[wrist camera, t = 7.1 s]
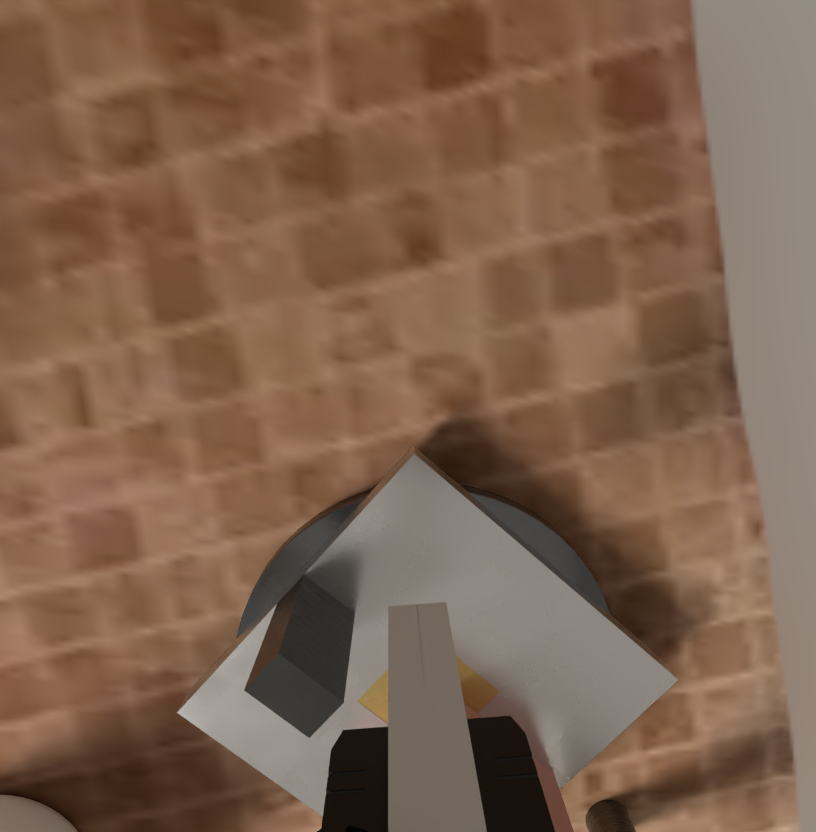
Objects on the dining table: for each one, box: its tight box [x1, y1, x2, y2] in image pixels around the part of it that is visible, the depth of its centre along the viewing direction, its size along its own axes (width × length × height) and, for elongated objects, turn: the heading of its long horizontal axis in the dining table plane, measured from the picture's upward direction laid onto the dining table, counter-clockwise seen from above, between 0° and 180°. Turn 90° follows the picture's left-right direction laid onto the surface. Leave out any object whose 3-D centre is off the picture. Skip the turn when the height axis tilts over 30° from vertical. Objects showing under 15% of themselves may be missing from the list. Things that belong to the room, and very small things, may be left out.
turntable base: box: [237, 485, 610, 638], centre depth 25 cm, size 16×16×1 cm
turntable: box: [177, 446, 678, 816], centre depth 21 cm, size 14×14×6 cm
